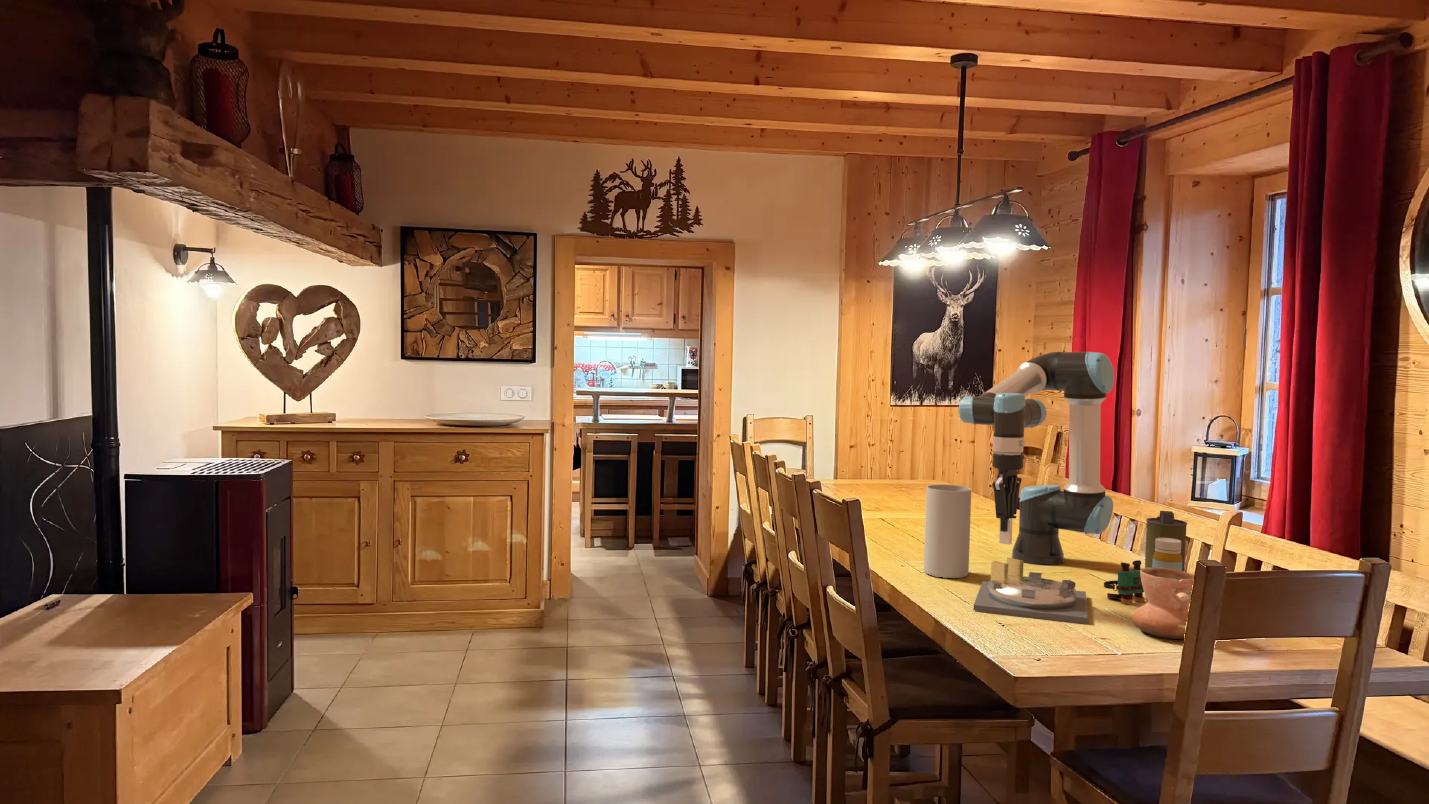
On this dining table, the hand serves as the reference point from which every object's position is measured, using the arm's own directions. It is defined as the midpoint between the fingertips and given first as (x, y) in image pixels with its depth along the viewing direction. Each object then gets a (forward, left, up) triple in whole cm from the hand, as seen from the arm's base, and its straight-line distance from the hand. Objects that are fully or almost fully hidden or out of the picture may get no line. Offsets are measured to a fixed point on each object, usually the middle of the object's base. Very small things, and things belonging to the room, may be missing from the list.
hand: (1005, 543), depth 233 cm
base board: (+3, +7, -14) cm, 16 cm away
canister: (-38, +41, -15) cm, 58 cm away
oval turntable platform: (+3, +7, -13) cm, 15 cm away
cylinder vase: (-20, -17, -15) cm, 30 cm away
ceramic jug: (+16, +36, -15) cm, 42 cm away
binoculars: (-12, +29, -15) cm, 35 cm away
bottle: (-21, +40, -15) cm, 47 cm away
